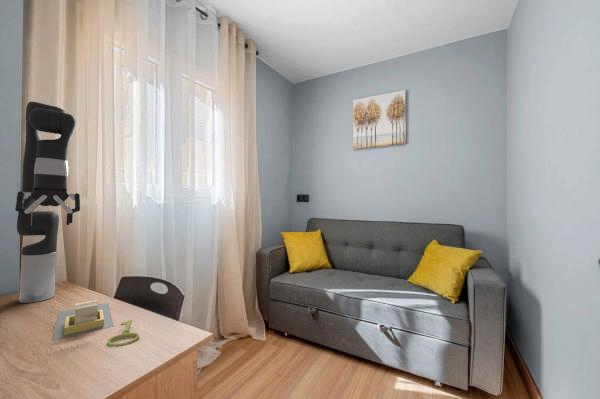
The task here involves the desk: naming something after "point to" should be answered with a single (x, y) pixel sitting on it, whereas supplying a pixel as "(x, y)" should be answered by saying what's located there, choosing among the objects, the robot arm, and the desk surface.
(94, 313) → the beech block
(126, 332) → the key
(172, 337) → the desk surface
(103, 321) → the puzzle board
